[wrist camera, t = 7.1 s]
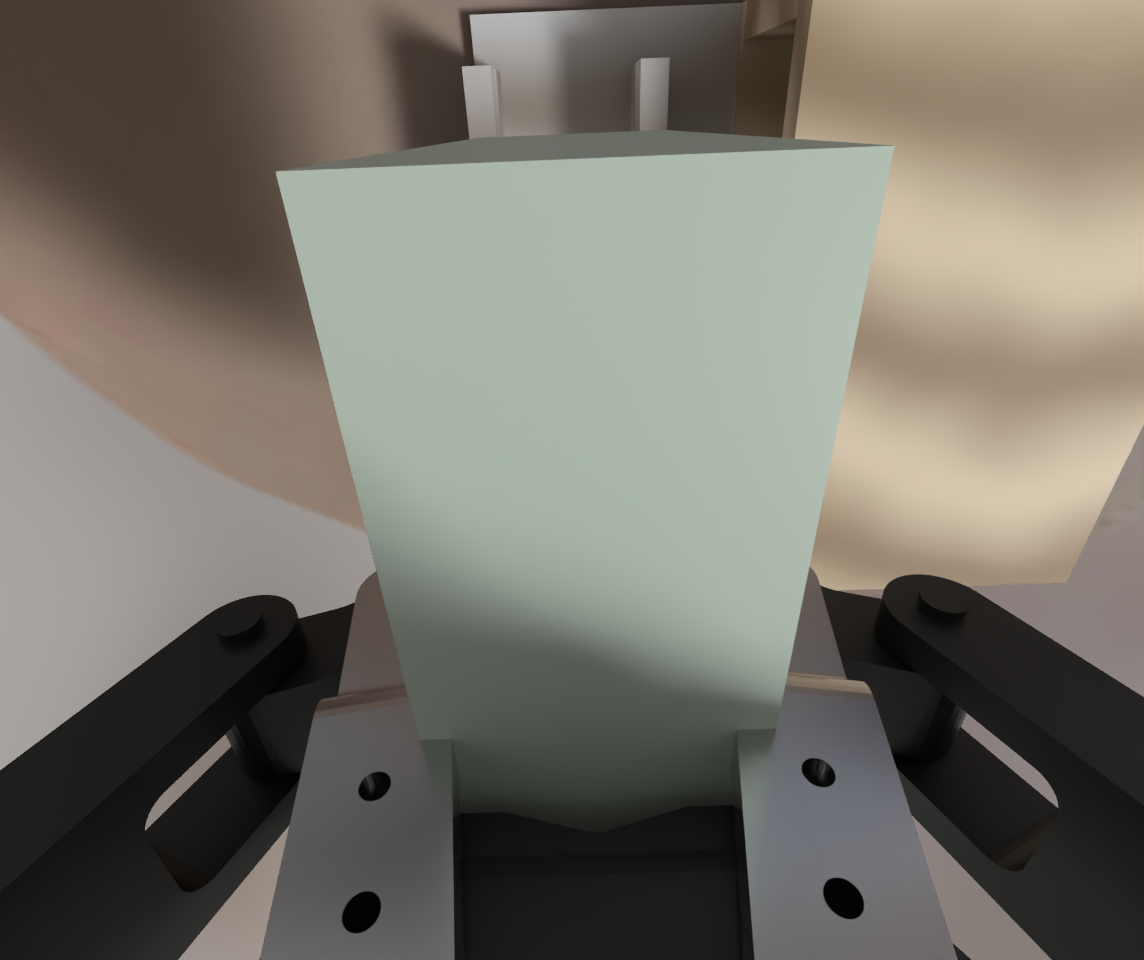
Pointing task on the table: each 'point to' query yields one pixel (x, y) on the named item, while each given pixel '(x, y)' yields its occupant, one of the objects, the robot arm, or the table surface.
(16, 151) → the table surface
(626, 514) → the door
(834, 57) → the cabinet
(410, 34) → the table surface
